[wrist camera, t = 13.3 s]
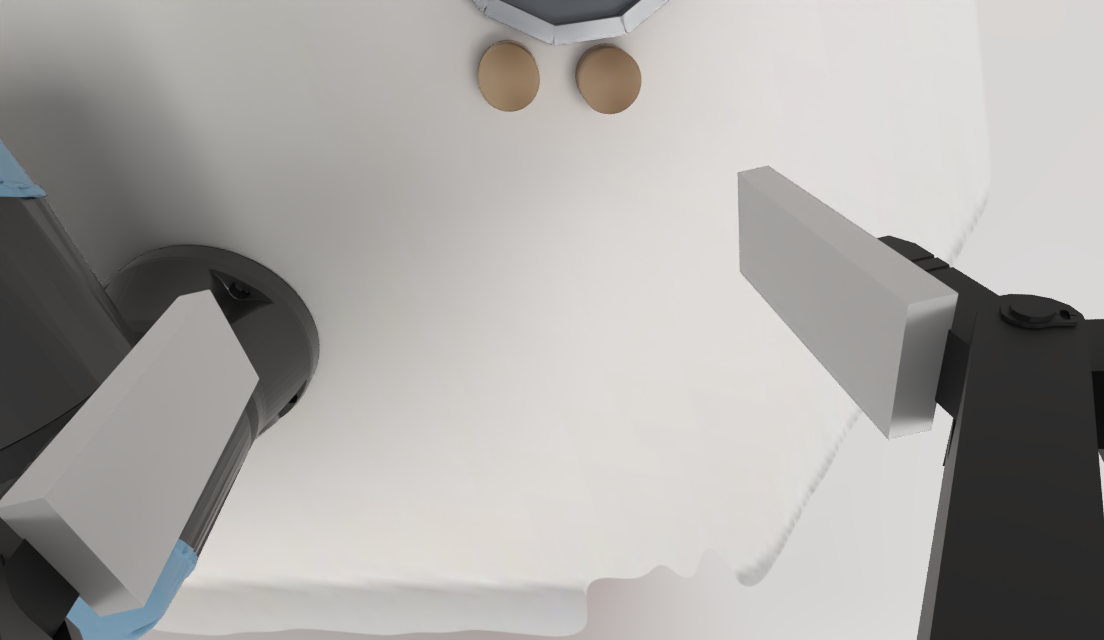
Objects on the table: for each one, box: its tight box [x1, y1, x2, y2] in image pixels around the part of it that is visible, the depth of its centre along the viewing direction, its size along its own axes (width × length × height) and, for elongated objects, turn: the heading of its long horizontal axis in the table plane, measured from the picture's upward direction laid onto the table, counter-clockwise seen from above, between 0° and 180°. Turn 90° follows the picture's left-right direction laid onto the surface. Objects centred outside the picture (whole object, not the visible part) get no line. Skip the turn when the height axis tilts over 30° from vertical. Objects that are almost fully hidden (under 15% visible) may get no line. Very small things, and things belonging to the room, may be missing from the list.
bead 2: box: [576, 44, 641, 114], centre depth 37 cm, size 4×4×3 cm
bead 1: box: [478, 40, 540, 112], centre depth 36 cm, size 4×4×3 cm
